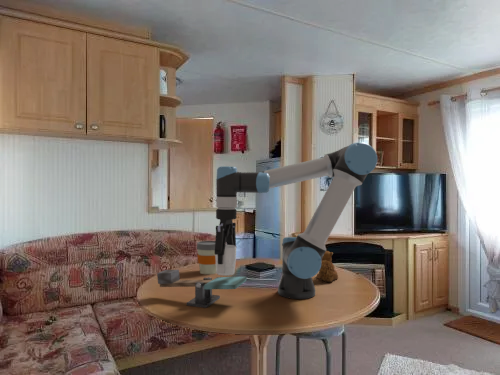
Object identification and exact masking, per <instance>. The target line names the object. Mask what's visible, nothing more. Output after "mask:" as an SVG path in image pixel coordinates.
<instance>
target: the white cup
mask: <svg viewBox="0 0 500 375" xmlns="http://www.w3.org/2000/svg"><path fill="white" fill-rule="evenodd" d="M237 248H238V247H237V245H236V246H234V245H227V244H226V245H225V251H224V255H225V273H217V255H215V259H216V274H215V275H219V276H223V277H229V276H232V275H235V273H236V272H235V271H236V262H237V261H236V260H237Z"/></svg>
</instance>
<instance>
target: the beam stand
mask: <svg viewBox="0 0 500 375" xmlns="http://www.w3.org/2000/svg"><path fill="white" fill-rule="evenodd" d="M202 280H213V278H212V277H210V276H208V277H203V279H202ZM204 285H205V283H204V282H196V283H195V287H194V291H195V293H194V294H195V295H194V297H193V298H192V299H190V300H188V301H187V302H186V306H189V307H197V308H203V309H206V308H208V307H210V306H211V305H213V304H214V303H215V302H217V301H218V300H220V299H221V295H218V294H213V289H204Z"/></svg>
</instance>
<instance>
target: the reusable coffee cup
mask: <svg viewBox="0 0 500 375" xmlns="http://www.w3.org/2000/svg"><path fill="white" fill-rule="evenodd" d="M196 243H197V244H196V250H197V253H196V257H197V263H198V265H199V274H202V275H217V274H216V259H215V240H203V241H198V242H196Z"/></svg>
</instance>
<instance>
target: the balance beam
mask: <svg viewBox="0 0 500 375" xmlns="http://www.w3.org/2000/svg"><path fill="white" fill-rule="evenodd" d="M156 276H157V284H159V288H170V287H171V288H183V287H184V288H185V287H186V288H188V287H189V288H190V287H192V288H195V283H196V282H204V283H205V285H204V289H212V290H236V289H238V288H239V287H240V286H242V285H243V284H244V283H246V282H247V280H248V279H247V276H218V277H216V278H213V279H212V280H203V279H189V280H188V279H187V280H186V279H185V280H183V279H180V278H181V277H180V270H179V269H165V270H162V271H160V272H157V273H156Z"/></svg>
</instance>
